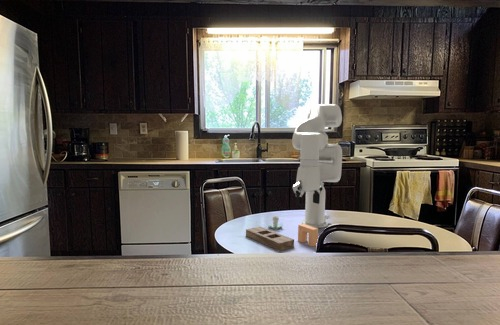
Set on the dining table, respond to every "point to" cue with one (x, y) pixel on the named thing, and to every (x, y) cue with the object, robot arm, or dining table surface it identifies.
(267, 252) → the dining table surface
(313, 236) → the clip
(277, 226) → the pacifier
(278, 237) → the rail
